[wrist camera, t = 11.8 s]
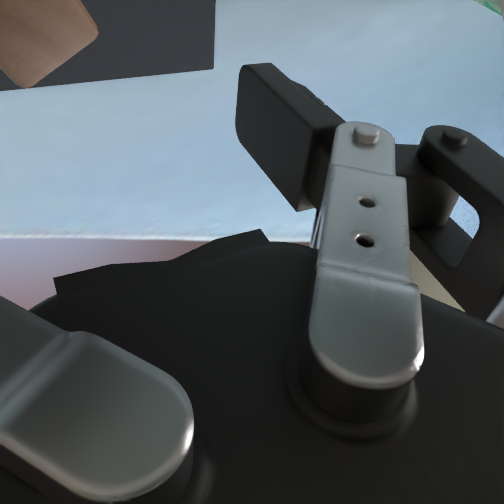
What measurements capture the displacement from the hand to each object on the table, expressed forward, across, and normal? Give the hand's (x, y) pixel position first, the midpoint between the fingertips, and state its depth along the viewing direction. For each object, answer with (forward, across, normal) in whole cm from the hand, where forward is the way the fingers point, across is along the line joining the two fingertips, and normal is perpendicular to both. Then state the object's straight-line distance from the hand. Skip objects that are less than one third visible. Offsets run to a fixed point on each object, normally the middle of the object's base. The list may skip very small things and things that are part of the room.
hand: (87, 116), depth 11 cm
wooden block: (+17, 0, +1) cm, 17 cm away
